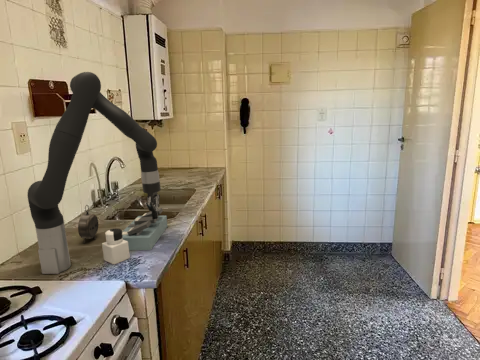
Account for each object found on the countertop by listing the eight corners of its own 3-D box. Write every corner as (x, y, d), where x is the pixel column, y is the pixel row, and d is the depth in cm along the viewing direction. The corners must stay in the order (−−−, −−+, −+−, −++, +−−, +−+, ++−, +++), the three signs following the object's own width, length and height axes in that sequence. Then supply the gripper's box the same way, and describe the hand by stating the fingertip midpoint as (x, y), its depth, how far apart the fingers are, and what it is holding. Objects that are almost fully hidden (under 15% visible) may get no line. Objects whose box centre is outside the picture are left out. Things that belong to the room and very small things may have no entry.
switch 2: (160, 214, 159) (158, 210, 159) (142, 220, 160) (140, 216, 160) (162, 210, 164) (161, 207, 163) (145, 216, 165) (144, 213, 165)
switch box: (150, 249, 141) (149, 234, 140) (117, 250, 142) (115, 235, 141) (167, 226, 168) (166, 213, 166) (139, 226, 168) (137, 213, 167)
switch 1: (147, 227, 141) (145, 224, 141) (128, 235, 143) (126, 232, 142) (151, 223, 146) (149, 219, 146) (133, 231, 148) (131, 227, 147)
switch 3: (154, 223, 150) (154, 219, 150) (134, 224, 151) (134, 221, 151) (157, 219, 155) (157, 215, 155) (138, 220, 156) (137, 217, 156)
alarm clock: (91, 234, 160) (86, 201, 157) (102, 234, 160) (97, 201, 156) (79, 244, 150) (73, 209, 146) (91, 244, 149) (86, 208, 146)
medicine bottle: (120, 253, 139) (116, 225, 136) (130, 258, 135) (126, 229, 132) (103, 260, 134) (99, 231, 131) (113, 265, 129) (109, 235, 127)
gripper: (154, 184, 142) (159, 223, 146) (163, 176, 155) (167, 213, 159) (137, 185, 142) (142, 224, 146) (147, 177, 155) (151, 213, 159)
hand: (155, 218), depth 153 cm, fingers closed
